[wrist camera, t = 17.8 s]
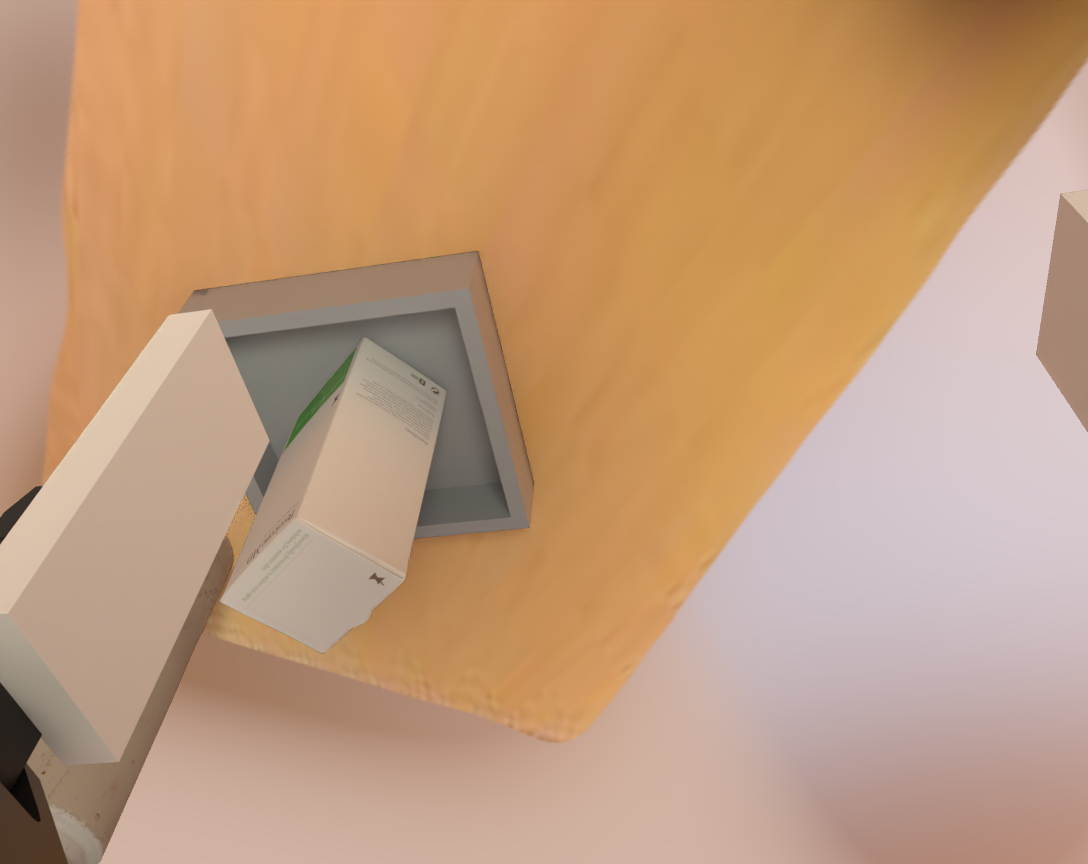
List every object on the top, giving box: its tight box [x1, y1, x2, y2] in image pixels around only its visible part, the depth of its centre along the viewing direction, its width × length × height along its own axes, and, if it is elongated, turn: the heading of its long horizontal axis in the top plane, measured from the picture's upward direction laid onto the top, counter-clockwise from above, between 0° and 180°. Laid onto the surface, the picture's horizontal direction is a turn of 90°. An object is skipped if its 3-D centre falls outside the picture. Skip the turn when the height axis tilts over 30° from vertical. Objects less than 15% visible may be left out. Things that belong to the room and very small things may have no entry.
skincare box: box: [220, 337, 448, 654], centre depth 52 cm, size 8×7×16 cm
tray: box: [178, 251, 534, 539], centre depth 57 cm, size 17×17×4 cm
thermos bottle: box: [27, 536, 233, 864], centre depth 57 cm, size 8×8×28 cm
